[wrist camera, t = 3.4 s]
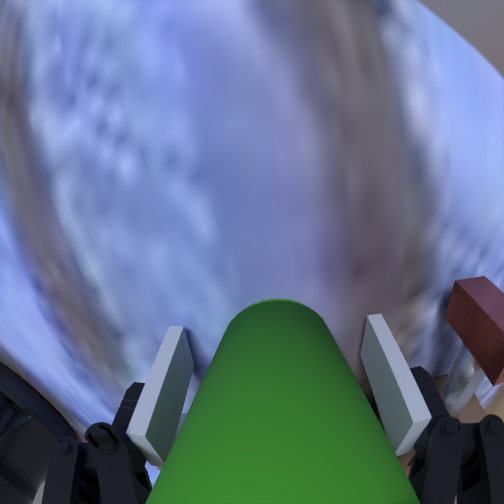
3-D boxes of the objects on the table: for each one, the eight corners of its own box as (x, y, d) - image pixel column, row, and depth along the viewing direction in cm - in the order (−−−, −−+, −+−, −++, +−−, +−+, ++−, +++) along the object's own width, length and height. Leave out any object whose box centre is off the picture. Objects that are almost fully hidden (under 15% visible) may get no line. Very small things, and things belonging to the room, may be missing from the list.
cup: (359, 380, 16) (398, 545, 6) (213, 397, 17) (187, 560, 7) (363, 243, 12) (504, 475, 2) (165, 273, 13) (47, 497, 3)
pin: (454, 280, 12) (514, 345, 7) (484, 275, 11) (543, 333, 7) (408, 410, 16) (430, 470, 11) (434, 402, 15) (458, 459, 11)
